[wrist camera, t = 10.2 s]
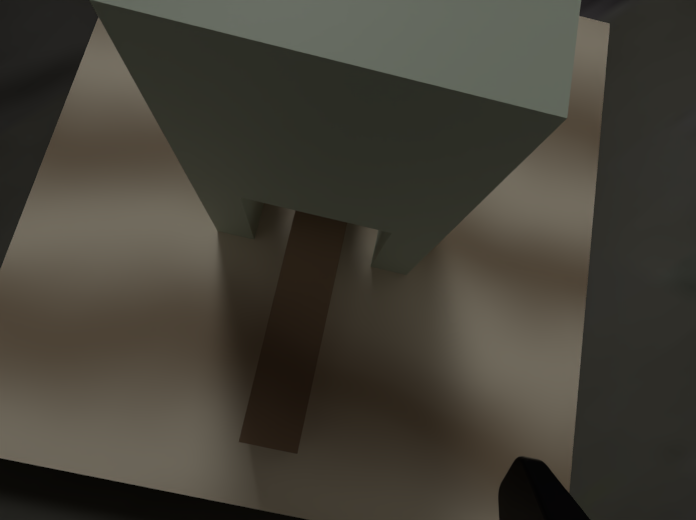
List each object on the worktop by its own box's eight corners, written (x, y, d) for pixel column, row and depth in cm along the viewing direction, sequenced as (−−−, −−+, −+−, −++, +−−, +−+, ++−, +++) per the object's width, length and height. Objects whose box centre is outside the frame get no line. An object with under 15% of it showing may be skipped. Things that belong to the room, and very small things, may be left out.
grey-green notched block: (406, 274, 17) (566, 118, 7) (217, 230, 17) (89, -2, 6) (426, 168, 18) (593, -109, 8) (248, 125, 18) (178, -220, 7)
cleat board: (539, 553, 17) (600, 597, 13) (-35, 438, 16) (-125, 454, 12) (589, 47, 22) (642, -15, 18) (152, -61, 21) (123, -146, 17)
